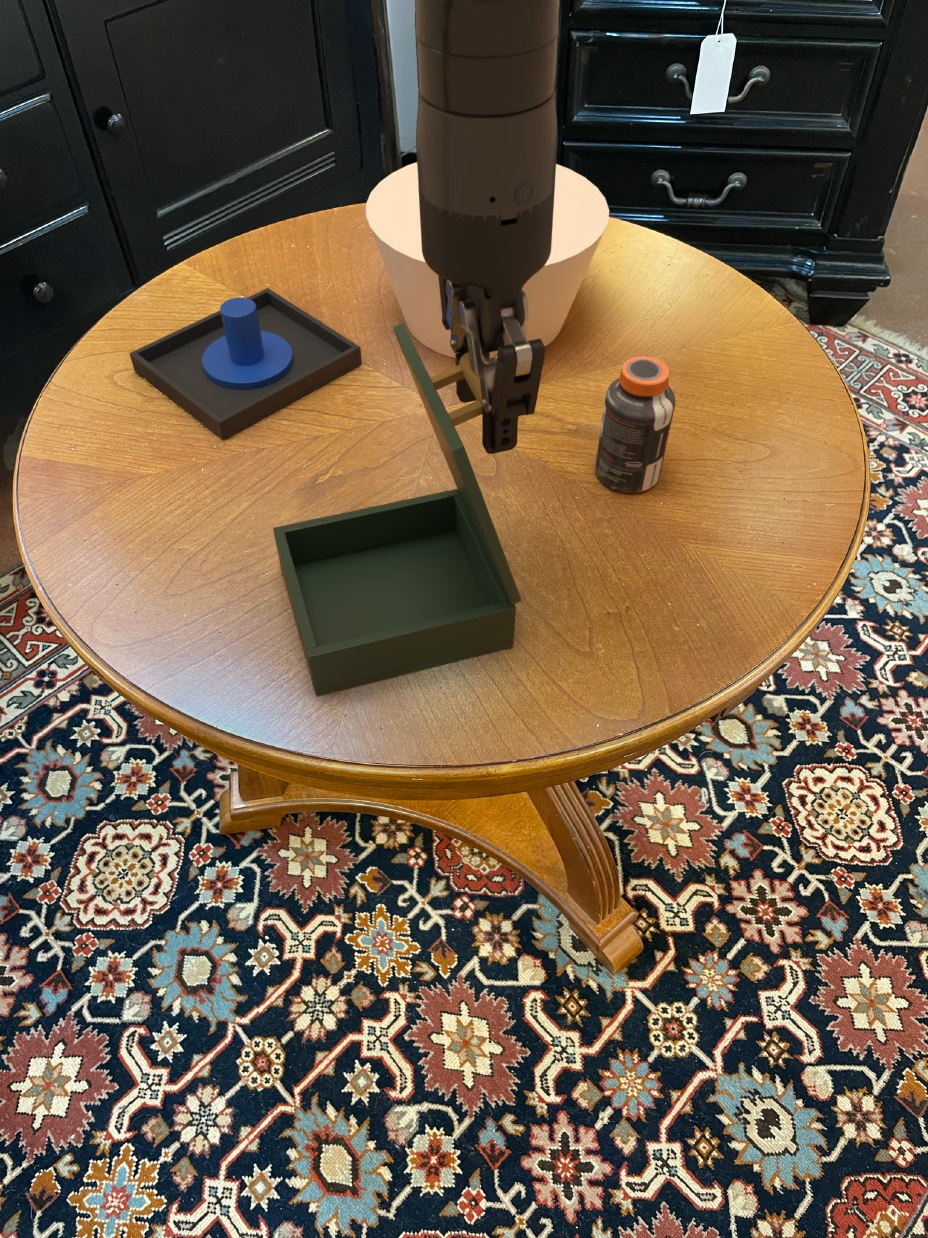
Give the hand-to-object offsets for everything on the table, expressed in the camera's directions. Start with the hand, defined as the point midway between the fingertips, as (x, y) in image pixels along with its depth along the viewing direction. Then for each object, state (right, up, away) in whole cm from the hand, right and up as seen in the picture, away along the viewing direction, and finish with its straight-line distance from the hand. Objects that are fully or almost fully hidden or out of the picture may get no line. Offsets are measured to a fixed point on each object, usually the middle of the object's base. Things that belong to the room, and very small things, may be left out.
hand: (486, 421), depth 65 cm
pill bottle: (+13, 0, +22) cm, 26 cm away
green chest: (-7, -12, +11) cm, 18 cm away
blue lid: (-23, +12, +31) cm, 41 cm away
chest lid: (-2, -3, +2) cm, 4 cm away
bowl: (+1, +19, +38) cm, 43 cm away
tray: (-23, +12, +32) cm, 41 cm away
